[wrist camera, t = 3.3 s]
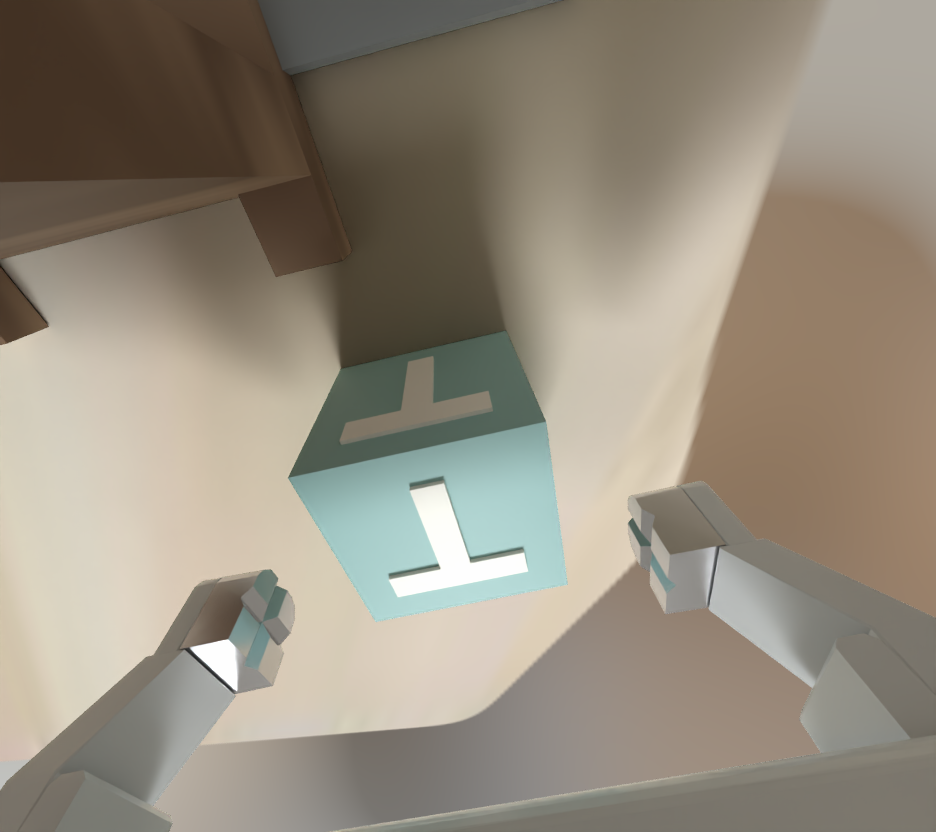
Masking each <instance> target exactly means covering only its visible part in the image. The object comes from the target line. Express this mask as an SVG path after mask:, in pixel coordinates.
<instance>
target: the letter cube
mask: <svg viewBox="0 0 936 832" xmlns="http://www.w3.org/2000/svg"><path fill="white" fill-rule="evenodd" d="M288 479H289V480H290V482H291V484H292V485H293V487H294V489H295V490H296V492H297V494H298V495H299V497H300V498H301V500H302V502H303V503H304V505H305V507H306V508H307V510H308V512H309V513H310V515H311V517H312V518H313V520H314V521H315V523H316V525H317V526H318V528H319V530H320V531H321V533H322V535H323V536H324V538H325V539H326V541H327V543H328V544H329V546H330V548H331V549H332V551H333V553H334V554H335V556H336V558H337V559H338V561H339V562H340V564H341V566H342V567H343V569H344V571H345V572H346V574H347V576H348V577H349V579H350V581H351V582H352V584H353V585H354V587H355V589H356V590H357V592H358V594H359V595H360V597H361V599H362V600H363V602H364V603H365V605H366V607H367V608H368V610H369V612H370V613H371V615H372V617H373V618H374V620H375V622H378V621H383V620H388V619H393V618H398V617H404V616H409V615H414V614H419V613H424V612H429V611H434V610H440V609H445V608H450V607H455V606H460V605H465V604H470V603H476V602H481V601H486V600H491V599H496V598H501V597H506V596H511V595H517V594H522V593H527V592H532V591H537V590H542V589H547V588H553V587H558V586H563V585H568V583H567V575H566V568H565V560H564V553H563V545H562V538H561V530H560V522H559V515H558V507H557V500H556V492H555V485H554V477H553V470H552V462H551V455H550V447H549V440H548V432H547V425H546V420H545V418H544V416H543V413H542V411H541V409H540V407H539V404H538V402H537V400H536V397H535V395H534V393H533V391H532V388H531V386H530V384H529V382H528V379H527V377H526V375H525V372H524V370H523V368H522V366H521V363H520V361H519V359H518V357H517V354H516V352H515V350H514V347H513V345H512V343H511V341H510V338H509V336H508V334H507V332H506V331H502V332H498V333H493V334H489V335H485V336H480V337H476V338H472V339H468V340H463V341H459V342H455V343H450V344H446V345H442V346H437V347H433V348H429V349H424V350H420V351H416V352H412V353H407V354H403V355H399V356H394V357H390V358H386V359H381V360H377V361H373V362H368V363H364V364H360V365H355V366H351V367H347V368H343V369H341V370H340V372H339V374H338V376H337V378H336V380H335V382H334V384H333V386H332V388H331V390H330V392H329V394H328V397H327V399H326V401H325V403H324V405H323V407H322V409H321V411H320V413H319V415H318V417H317V419H316V421H315V423H314V425H313V427H312V430H311V432H310V434H309V436H308V438H307V440H306V442H305V444H304V446H303V448H302V450H301V452H300V454H299V456H298V458H297V460H296V462H295V465H294V467H293V469H292V471H291V473H290V475H289V477H288Z"/></svg>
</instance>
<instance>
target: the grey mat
mask: <svg viewBox="0 0 936 832" xmlns="http://www.w3.org/2000/svg"><path fill="white" fill-rule="evenodd" d="M558 1H562V0H258V3H259V6H260V9H261V11H262V14H263V17H264V20H265V23H266V25H267V28H268V31H269V34H270V37H271V39H272V42H273V45H274V48H275V51H276V53H277V56H278V59H279V62H280V65H281V67H282V70H283V71H285V72H286V73H288V74H289V75H294V74H297V73H301V72H305V71H308V70H312V69H315V68H319V67H323V66H326V65H330V64H334V63H337V62H341V61H344V60H348V59H352V58H355V57H359V56H363V55H366V54H370V53H373V52H377V51H381V50H384V49H388V48H391V47H395V46H399V45H402V44H406V43H410V42H413V41H417V40H420V39H424V38H428V37H431V36H435V35H439V34H442V33H446V32H449V31H453V30H457V29H460V28H464V27H467V26H471V25H475V24H478V23H482V22H486V21H489V20H493V19H496V18H500V17H504V16H507V15H511V14H515V13H518V12H522V11H525V10H529V9H533V8H536V7H540V6H543V5H547V4H551V3H554V2H558Z"/></svg>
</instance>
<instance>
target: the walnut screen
mask: <svg viewBox="0 0 936 832" xmlns="http://www.w3.org/2000/svg"><path fill="white" fill-rule="evenodd" d="M238 197H239V198H240V200H241V202H242V205H243V207H244V209H245V211H246V213H247V215H248V217H249V220H250V222H251V224H252V226H253V228H254V230H255V233H256V235H257V237H258V239H259V241H260V243H261V246H262V248H263V250H264V252H265V254H266V256H267V259H268V261H269V263H270V265H271V267H272V269H273V272H274V274H275V276H276V277H278V276H282V275H286V274H290V273H294V272H298V271H302V270H306V269H311V268H315V267H319V266H323V265H327V264H331V263H335V262H339V261H343V260H344V259H345V258H346V257H347V256H348V255H349V254H350V253H351V252H352V250H351V247H350V244H349V241H348V238H347V235H346V233H345V230H344V227H343V224H342V221H341V218H340V215H339V213H338V210H337V207H336V204H335V201H334V198H333V195H332V193H331V190H330V187H329V184H328V181H327V178H326V175H325V173H324V170H323V167H322V164H321V161H320V158H319V155H318V153H317V150H316V147H315V144H314V141H313V138H312V135H311V133H310V130H309V127H308V124H307V121H306V118H305V115H304V113H303V110H302V107H301V104H300V101H299V98H298V95H297V93H296V90H295V87H294V84H293V81H292V78H291V75H289V74H288V73H286V72H285V71H283V70H282V67H281V65H280V62H279V59H278V56H277V53H276V51H275V48H274V45H273V42H272V39H271V37H270V34H269V31H268V28H267V25H266V23H265V20H264V17H263V14H262V11H261V9H260V6H259V3H258V0H0V259H4V258H8V257H12V256H15V255H19V254H23V253H27V252H31V251H35V250H39V249H42V248H46V247H50V246H54V245H58V244H62V243H65V242H69V241H73V240H77V239H81V238H85V237H89V236H92V235H96V234H100V233H104V232H108V231H112V230H115V229H119V228H123V227H127V226H131V225H135V224H138V223H142V222H146V221H150V220H154V219H158V218H162V217H165V216H169V215H173V214H177V213H181V212H185V211H188V210H192V209H196V208H200V207H204V206H208V205H212V204H215V203H219V202H223V201H227V200H231V199H235V198H238ZM47 327H49V326H48V325H47V324H46V323H45V321H44V320H43V319H42V318H41V316H40V315H39V314H38V313H37V312H36V310H35V309H34V308H33V307H32V305H31V304H30V303H29V302H28V300H27V299H26V298H25V297H24V296H23V294H22V293H21V292H20V291H19V289H18V288H17V287H16V286H15V285H14V283H13V282H12V281H11V280H10V278H9V277H8V276H7V275H6V273H5V272H4V271H3V270H2V269H1V267H0V345H3V344H7V343H9V342H12V341H14V340H17V339H19V338H22V337H24V336H27V335H29V334H32V333H35V332H37V331H40V330H42V329H45V328H47Z"/></svg>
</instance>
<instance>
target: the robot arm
mask: <svg viewBox="0 0 936 832" xmlns="http://www.w3.org/2000/svg"><path fill="white" fill-rule="evenodd" d="M628 510H629V512H630V513H631V515H632V517H633V518H632V519H631V520H630V521H629V523H628V534H629V538H630V543H631V547H632V549H633V552H634V554H635V557H636V559H637V561H638V563H639V565H640V566H641V567H642V568H644V569H645V570H647V571H649V572H650V586H651V588H652V590H653V592H654V593H655V595H656V597H657V599H658V601H659V603H660V604H661V607H662V608H663V610H664V612H665V614H668V613H675V612H681V611H687V610H694V609H700V608H707V607H709V610H710V611H712V612H713V613H714V614H715V615H717V616H718V617H719V618H721V619H722V620H723V621H725V622H726V623H727V624H729V625H730V626H731V627H732V628H734V629H735V630H736V631H738V632H739V633H740V634H742V635H743V636H744V637H746V638H747V639H748V640H750V641H751V642H752V643H754V644H755V645H756V646H758V647H759V648H760V649H762V650H763V651H764V652H766V653H767V654H768V655H770V656H771V657H772V658H773V659H775V660H776V661H777V662H779V663H780V664H781V665H783V666H784V667H785V668H787V669H788V670H789V671H791V672H792V673H793V674H795V675H796V676H797V677H799V678H800V679H801V680H803V681H804V682H805V683H806V684H808V685H809V686H811V687H812V690H811V693H810V694H809V697H808V699H807V701H806V703H805V705H804V707H803V709H802V712H801V715H800V721H801V723H802V724H803V726H804V727H805V729H806V730H807V732H808V734H809V735H810V737H811V738H812V739H813V741H814V742H815V744H816V746H817V747H818V749H819V750H820V752H821V753H819V754H813V755H806V756H800V757H794V758H787V759H781V760H775V761H769V762H763V763H756V764H750V765H743V766H737V767H731V768H725V769H718V770H712V771H706V772H700V773H693V774H687V775H681V776H675V777H668V778H663V779H657V780H649V781H643V782H637V783H631V784H625V785H619V786H612V787H606V788H599V789H593V790H587V791H581V792H574V793H568V794H562V795H556V796H550V797H543V798H537V799H531V800H524V801H519V802H512V803H506V804H499V805H493V806H487V807H480V808H474V809H468V810H462V811H456V812H449V813H443V814H437V815H431V816H424V817H418V818H412V819H406V820H400V821H393V822H387V823H380V824H374V825H368V826H361V827H355V828H349V829H343V830H337V831H331V832H936V618H935V617H933V616H931V615H929V614H926V613H924V612H922V611H920V610H918V609H916V608H914V607H911V606H909V605H907V604H905V603H903V602H901V601H898V600H896V599H894V598H892V597H890V596H888V595H886V594H883V593H881V592H879V591H877V590H874V589H873V588H870V587H868V586H866V585H864V584H862V583H860V582H858V581H855V580H853V579H851V578H849V577H847V576H845V575H842V574H840V573H838V572H836V571H834V570H832V569H830V568H827V567H825V566H823V565H821V564H819V563H816V562H815V561H812V560H810V559H808V558H806V557H804V556H802V555H799V554H797V553H795V552H793V551H791V550H789V549H786V548H784V547H782V546H780V545H778V544H776V543H774V542H771V541H769V540H767V539H758V540H757V539H756V538H755V537H754V536H753V535H752V534H751V533H750V531H749V530H748V529H747V528H746V527H745V526H744V525H743V524H742V522H741V521H740V520H739V519H738V518H737V517H736V516H735V515H734V514H733V513H732V511H731V510H730V509H729V508H728V507H727V506H726V505H725V503H724V502H723V501H722V500H721V499H720V498H719V497H718V496H717V495H716V493H714V491H713V490H712V489H711V488H710V487H709V486H708V484H706V483H704V482H703V481H698V482H694V483H689V484H684V485H679V486H676V487H675V486H673V487H669V488H664V489H659V490H654V491H650V492H645V493H640V494H636V495H631V496H630V497H629V499H628ZM277 582H278V577H277V576H276V575H275V574H274V573H273V571H272V570H261V571H255V572H249V573H243V574H238V575H232V576H226V577H222V578H217V579H211V580H205V581H202V582H201V583H200V584H198V585H197V586H196V587H195V588H194V590H193V591H192V593H191V594H190V596H189V598H188V599H187V601H186V603H185V604H184V606H183V608H182V609H181V611H180V613H179V614H178V616H177V618H176V619H175V621H174V622H173V624H172V626H171V627H170V629H169V631H168V632H167V634H166V636H165V637H164V639H163V641H162V642H161V644H160V646H159V647H158V649H157V650H156V652H155V654H154V655H152V656H148V657H146V658H145V659H144V660H142V661H141V662H140V663H139V664H138V665H137V666H136V667H135V668H133V669H132V670H131V671H130V672H129V673H128V674H127V675H126V676H124V677H123V678H122V679H121V680H120V681H119V682H118V683H117V684H115V685H114V686H113V687H112V688H111V689H110V690H109V691H108V692H106V693H105V694H104V695H103V696H102V697H101V698H100V699H99V700H97V701H96V702H95V703H94V704H93V705H92V706H91V707H90V708H88V709H87V710H86V711H85V712H84V713H83V714H82V715H81V716H80V717H78V718H77V719H76V720H75V721H74V722H73V723H72V724H71V725H69V726H68V727H67V728H66V729H65V730H64V731H63V732H62V733H60V734H59V735H58V736H57V737H56V738H55V739H54V740H53V741H51V742H50V743H49V744H48V745H47V746H46V747H45V748H44V749H42V750H41V751H40V752H39V753H38V754H37V755H36V756H35V757H33V758H32V759H31V760H30V761H29V762H28V763H27V764H26V765H25V766H23V767H22V768H21V769H20V770H19V771H18V772H17V773H15V774H14V775H13V776H12V777H11V778H10V779H9V780H8V781H7V782H6V783H5V785H4V786H3V787H2V789H1V790H0V832H169V831H170V828H171V826H172V819H171V816H170V815H169V814H167V813H165V812H163V811H161V810H159V809H157V808H155V807H153V805H154V804H155V803H156V801H157V800H158V799H159V797H160V796H161V795H162V793H163V792H164V790H165V789H166V788H167V787H168V785H169V784H170V783H171V781H172V780H173V779H174V777H175V776H176V775H177V773H178V772H179V771H180V769H181V768H182V767H183V765H184V764H185V763H186V761H187V760H188V759H189V757H190V756H191V755H192V753H193V752H194V751H195V750H196V748H197V747H198V746H199V744H200V743H201V742H202V740H203V739H204V738H205V736H206V735H207V734H208V732H209V731H210V730H211V728H212V727H213V726H214V724H215V723H216V722H217V720H218V719H219V718H220V716H221V715H222V714H223V712H224V711H225V710H226V708H227V707H228V706H229V704H230V703H231V702H232V700H233V699H234V698H235V695H234V694H237V693H242V692H247V691H251V690H256V689H261V688H265V687H270V686H273V684H274V681H275V678H276V675H277V672H278V669H279V666H280V663H281V660H282V657H283V654H284V652H283V650H282V647H281V643H282V642H283V641H284V640H285V639H286V638H287V636H288V635H289V634H290V633H291V630H292V627H293V623H294V619H295V605H294V602H293V599H292V597H291V595H290V594H289V592H288V591H287V590H285V589H283V588H280V587H278V586H276V585H277Z"/></svg>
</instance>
